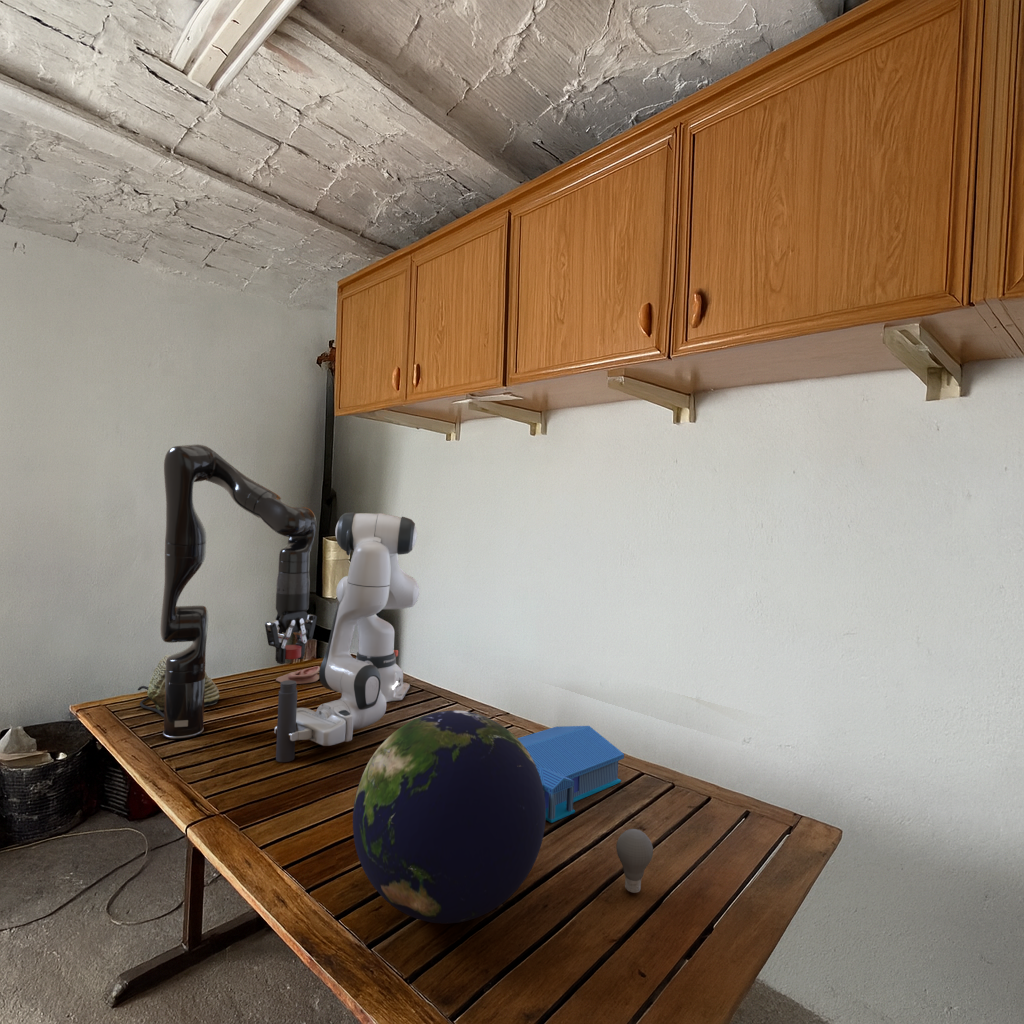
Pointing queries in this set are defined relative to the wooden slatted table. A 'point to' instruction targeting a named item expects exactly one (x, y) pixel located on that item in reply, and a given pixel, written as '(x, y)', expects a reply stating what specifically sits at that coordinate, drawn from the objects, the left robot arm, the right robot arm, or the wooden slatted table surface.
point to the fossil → (158, 687)
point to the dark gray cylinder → (286, 721)
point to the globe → (449, 817)
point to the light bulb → (634, 857)
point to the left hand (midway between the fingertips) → (290, 660)
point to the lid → (293, 651)
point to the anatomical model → (301, 675)
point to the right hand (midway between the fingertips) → (282, 734)
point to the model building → (571, 765)
